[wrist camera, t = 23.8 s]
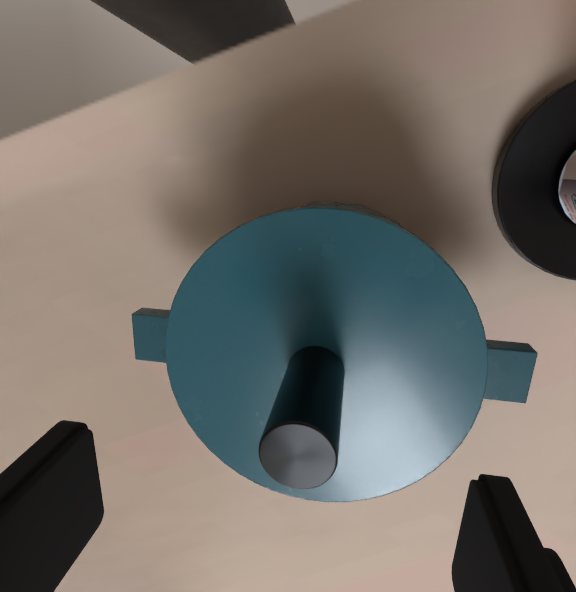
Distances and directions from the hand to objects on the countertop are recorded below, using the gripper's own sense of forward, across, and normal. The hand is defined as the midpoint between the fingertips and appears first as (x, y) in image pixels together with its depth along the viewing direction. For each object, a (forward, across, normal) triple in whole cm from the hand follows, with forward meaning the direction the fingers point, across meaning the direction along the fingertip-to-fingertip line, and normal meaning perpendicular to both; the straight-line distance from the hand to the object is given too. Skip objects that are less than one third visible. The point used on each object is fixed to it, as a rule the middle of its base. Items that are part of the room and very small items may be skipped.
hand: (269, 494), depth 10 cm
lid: (+8, 0, +1) cm, 8 cm away
